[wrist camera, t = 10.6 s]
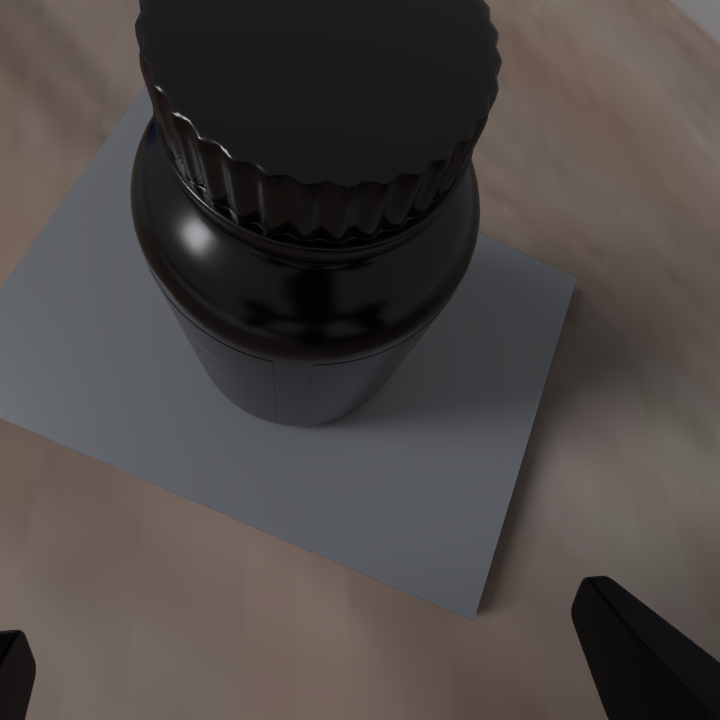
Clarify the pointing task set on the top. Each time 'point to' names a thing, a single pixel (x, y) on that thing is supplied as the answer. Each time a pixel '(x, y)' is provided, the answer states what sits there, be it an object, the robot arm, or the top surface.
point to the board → (273, 441)
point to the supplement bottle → (310, 186)
